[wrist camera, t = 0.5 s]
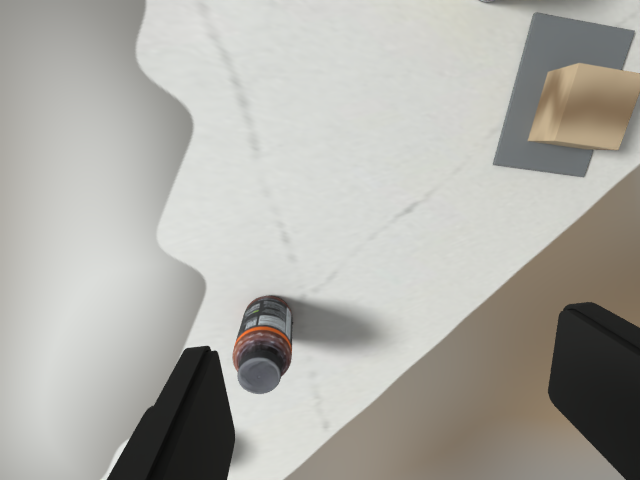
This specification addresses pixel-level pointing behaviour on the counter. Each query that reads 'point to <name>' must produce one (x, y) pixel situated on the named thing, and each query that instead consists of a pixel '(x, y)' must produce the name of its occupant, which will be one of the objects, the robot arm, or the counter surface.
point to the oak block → (585, 107)
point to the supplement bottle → (263, 344)
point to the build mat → (537, 60)
